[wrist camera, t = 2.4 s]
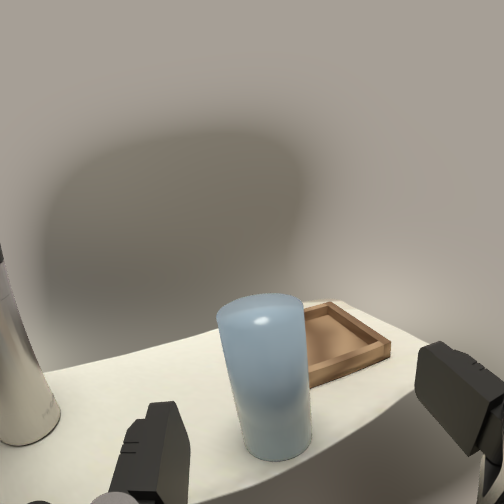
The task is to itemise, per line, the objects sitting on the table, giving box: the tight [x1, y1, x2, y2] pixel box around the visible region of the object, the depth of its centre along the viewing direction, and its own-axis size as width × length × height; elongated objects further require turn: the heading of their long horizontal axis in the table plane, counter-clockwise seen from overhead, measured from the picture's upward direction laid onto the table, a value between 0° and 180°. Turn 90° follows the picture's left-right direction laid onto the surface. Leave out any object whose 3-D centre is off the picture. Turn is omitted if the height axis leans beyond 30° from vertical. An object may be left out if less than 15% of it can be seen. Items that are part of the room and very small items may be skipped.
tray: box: [304, 302, 391, 388], centre depth 36 cm, size 12×14×2 cm
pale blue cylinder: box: [216, 293, 312, 462], centre depth 22 cm, size 6×6×12 cm
